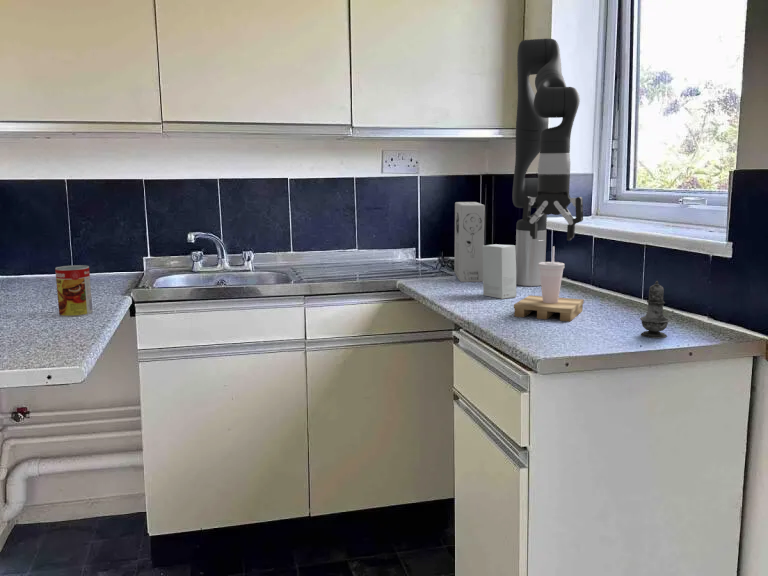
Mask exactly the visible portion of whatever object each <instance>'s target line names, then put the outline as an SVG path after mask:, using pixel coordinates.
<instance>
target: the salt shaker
mask: <svg viewBox="0 0 768 576" xmlns="http://www.w3.org/2000/svg"><path fill="white" fill-rule="evenodd" d="M664 290H665V289H664V287H663V286H662V285H660V284H659V281H658V280H656V281H655V283H654V284H653V285H650V286H649V290H648V300H647V301H646V303H647V313H646V315H645V316H642V317H640V319H639V320H641V325H642V327H643V329H644V330H645V331H643V332H640V336H641V337H645V338H649V339H665V338H667V337H668V335H667V334H666V333H665V332H664V330H665V329H666V328H667V327H668V324H669V322H670V319H669V318H667V317H666V316H664V304H665V303H666V302H665V301H664V293H665V292H664ZM662 331H663V332H662Z"/></svg>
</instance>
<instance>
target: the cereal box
mask: <svg viewBox="0 0 768 576" xmlns="http://www.w3.org/2000/svg"><path fill="white" fill-rule="evenodd" d="M485 207H486V205H485V204H482V203H480V202H477V201H456V202H455V203H454V260H453V261H454V263H453V264H454V266H453V267H454V269H453V270H454V271H453V272H454V274H455V275H456V277H457V278H458V280H459V282H460V283H483V254H482V246H485V215H486V214H485Z"/></svg>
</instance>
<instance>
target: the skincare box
mask: <svg viewBox="0 0 768 576" xmlns="http://www.w3.org/2000/svg"><path fill="white" fill-rule="evenodd" d="M482 254H483V282H482V283H483V284H482V286H483V289H482V291H483V293H482V294H483V296H484V297H486V296H487V297H492V298H497V299H501V300H502V299H503V300H505V299H512V298H516V297H517V284H516V244H515V245H514V244H500V243H499V244H497V243H495V244H486V245H485V244H484V246H482Z"/></svg>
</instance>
